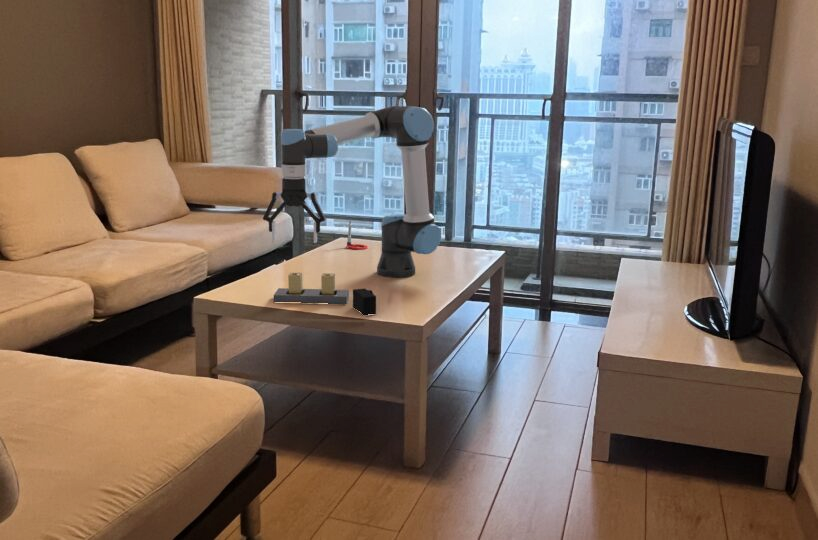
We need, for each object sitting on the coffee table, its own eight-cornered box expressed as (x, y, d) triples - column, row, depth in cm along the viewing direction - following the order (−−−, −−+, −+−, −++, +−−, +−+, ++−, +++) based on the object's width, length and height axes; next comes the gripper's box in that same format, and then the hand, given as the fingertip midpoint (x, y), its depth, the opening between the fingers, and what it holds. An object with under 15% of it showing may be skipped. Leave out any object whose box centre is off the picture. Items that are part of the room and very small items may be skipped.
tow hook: (368, 247, 351) (348, 245, 351) (370, 219, 347) (350, 218, 348) (365, 251, 342) (345, 249, 343) (367, 223, 339) (346, 221, 340)
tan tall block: (302, 298, 259) (302, 272, 257) (300, 301, 255) (300, 275, 253) (290, 298, 259) (290, 272, 257) (288, 301, 255) (288, 275, 253)
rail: (348, 299, 262) (348, 289, 261) (346, 307, 253) (346, 296, 252) (278, 298, 262) (278, 288, 261) (273, 305, 253) (273, 295, 252)
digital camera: (379, 316, 243) (379, 295, 242) (363, 318, 241) (363, 297, 239) (368, 308, 252) (368, 287, 251) (352, 309, 250) (352, 289, 249)
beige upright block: (334, 299, 259) (334, 273, 257) (333, 302, 255) (333, 276, 253) (323, 299, 259) (322, 273, 257) (321, 302, 255) (321, 275, 253)
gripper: (252, 178, 244) (254, 243, 249) (330, 179, 244) (331, 244, 249) (257, 175, 252) (259, 238, 257) (333, 176, 251) (333, 240, 256)
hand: (294, 242), depth 253 cm, fingers open, 13 cm apart
